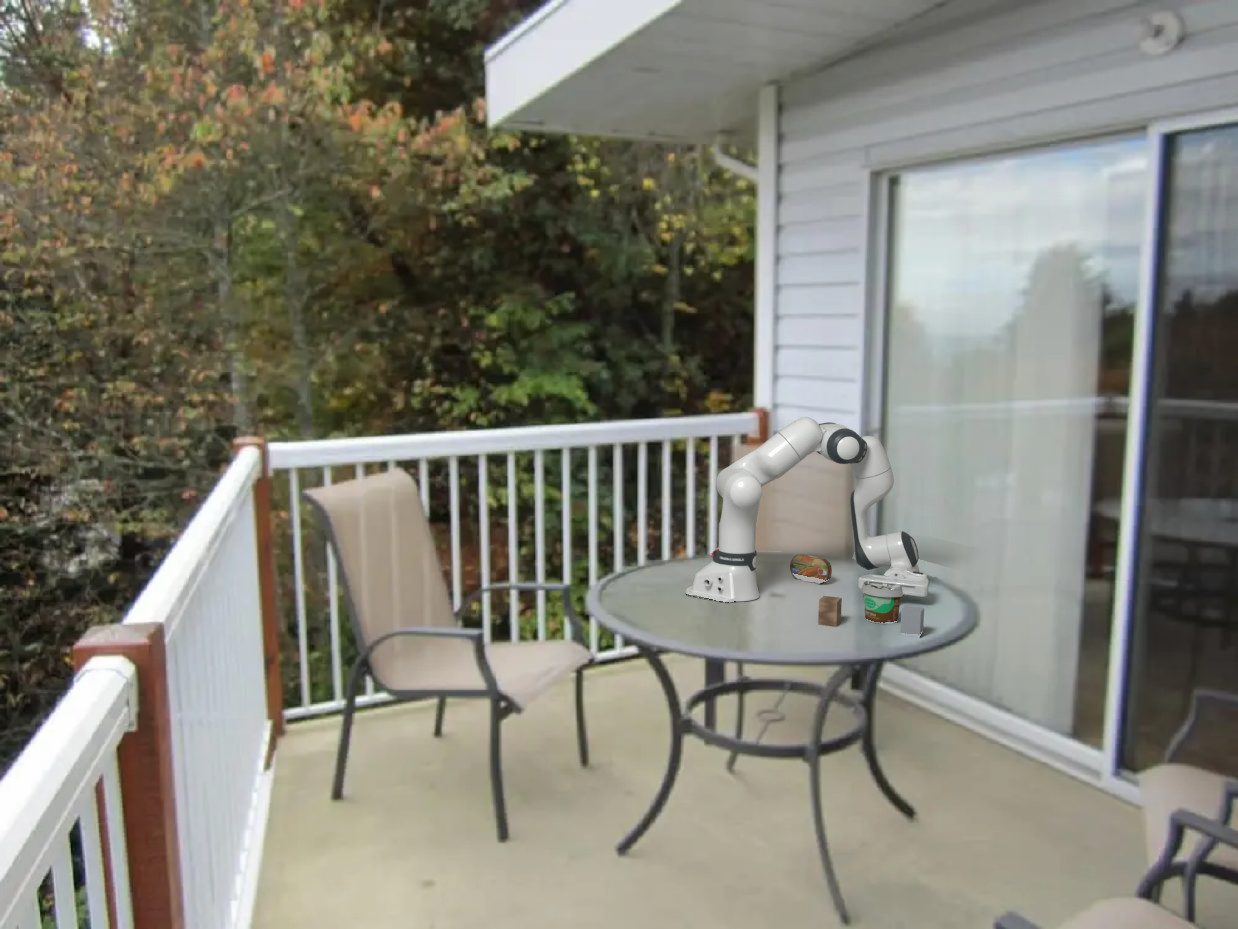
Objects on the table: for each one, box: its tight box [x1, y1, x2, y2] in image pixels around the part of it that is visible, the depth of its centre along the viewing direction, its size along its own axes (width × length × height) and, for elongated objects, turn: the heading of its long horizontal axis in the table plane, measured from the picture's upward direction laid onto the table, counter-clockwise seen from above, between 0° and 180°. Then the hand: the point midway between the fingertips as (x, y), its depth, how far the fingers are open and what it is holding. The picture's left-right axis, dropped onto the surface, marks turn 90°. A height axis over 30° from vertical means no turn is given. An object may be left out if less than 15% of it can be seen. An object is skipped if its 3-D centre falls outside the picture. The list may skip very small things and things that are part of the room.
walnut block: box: [817, 595, 843, 628], centre depth 270 cm, size 5×5×7 cm
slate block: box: [899, 605, 925, 635], centre depth 260 cm, size 5×5×7 cm
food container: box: [860, 581, 904, 623], centre depth 272 cm, size 12×6×10 cm, turn 40°
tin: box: [789, 554, 833, 581], centre depth 317 cm, size 15×3×8 cm, turn 43°
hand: (888, 591), depth 285 cm, fingers closed
